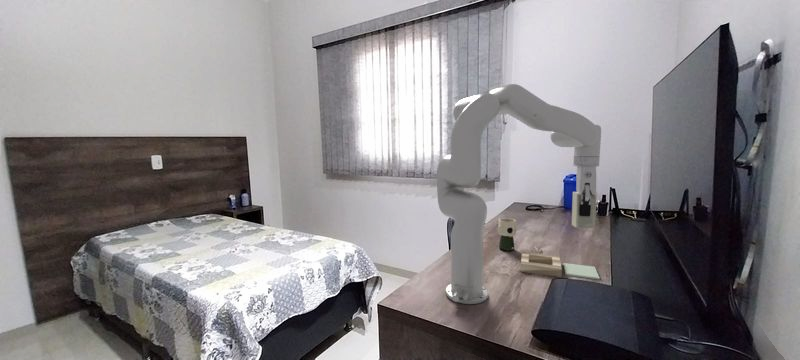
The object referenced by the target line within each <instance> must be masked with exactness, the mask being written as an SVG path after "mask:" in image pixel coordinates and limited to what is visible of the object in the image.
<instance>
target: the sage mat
mask: <svg viewBox="0 0 800 360" xmlns="http://www.w3.org/2000/svg"><path fill="white" fill-rule="evenodd" d="M563 268H564V269H563V270H564V272H565V273H564V274H565V276H571V277H576V278H577V277H578V278H585V279H590V280H591V279H592V280H599V281H600V279H601V277H600V276H599V273H598V270H597V269H596V267H595V266H593V265H592V266H591V265H585V264H584V265H583V264H575V263H567V262H566V263H565V262H563Z"/></svg>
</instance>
